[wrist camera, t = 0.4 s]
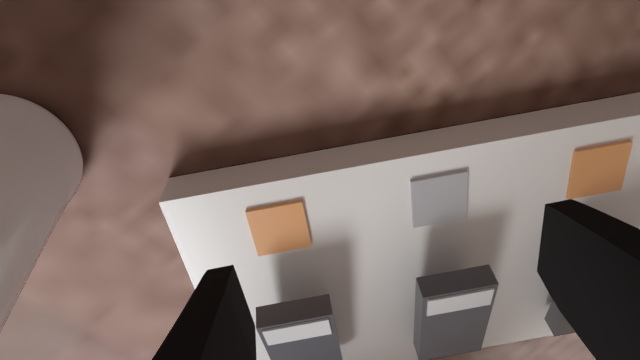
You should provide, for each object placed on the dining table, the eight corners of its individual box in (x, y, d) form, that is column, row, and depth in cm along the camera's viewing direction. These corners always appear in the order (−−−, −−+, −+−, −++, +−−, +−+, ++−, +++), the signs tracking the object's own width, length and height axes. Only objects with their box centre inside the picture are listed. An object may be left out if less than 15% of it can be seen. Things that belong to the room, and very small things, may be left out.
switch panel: (617, 292, 26) (648, 325, 24) (240, 362, 26) (237, 401, 24) (675, 85, 19) (725, 105, 17) (168, 177, 19) (155, 209, 17)
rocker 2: (473, 331, 23) (481, 351, 22) (413, 342, 23) (419, 363, 22) (488, 264, 19) (500, 286, 18) (415, 277, 19) (423, 299, 18)
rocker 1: (342, 355, 23) (345, 377, 22) (281, 367, 23) (283, 388, 22) (329, 293, 19) (332, 316, 18) (255, 307, 19) (256, 330, 18)
